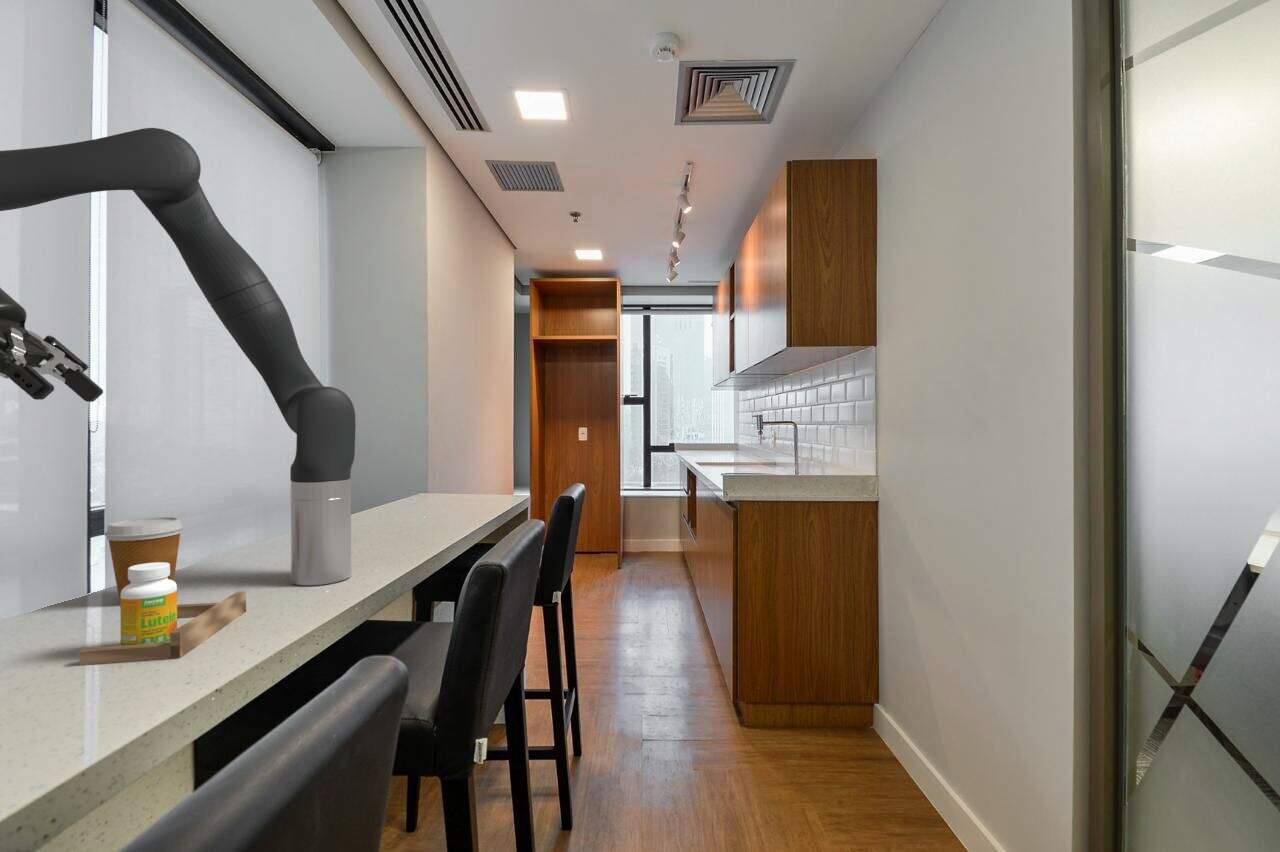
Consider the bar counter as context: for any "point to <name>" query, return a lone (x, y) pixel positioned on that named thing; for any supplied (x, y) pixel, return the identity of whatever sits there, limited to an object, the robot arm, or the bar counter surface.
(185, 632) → the bay
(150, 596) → the supplement bottle
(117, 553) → the disposable coffee cup
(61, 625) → the bar counter surface
